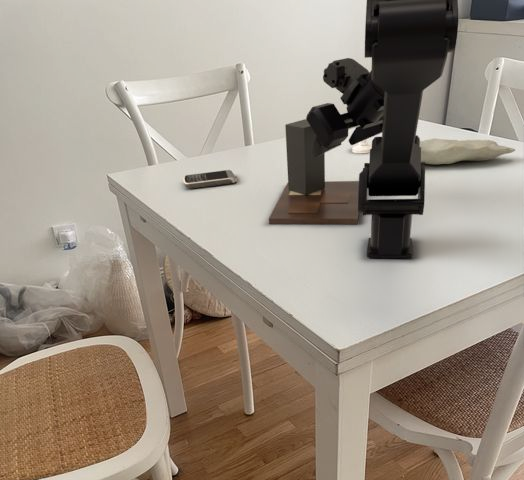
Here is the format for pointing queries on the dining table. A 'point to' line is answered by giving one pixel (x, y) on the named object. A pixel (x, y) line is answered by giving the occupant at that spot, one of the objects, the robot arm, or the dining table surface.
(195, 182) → the cell phone
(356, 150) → the chess piece
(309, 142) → the dark grey rectangular block
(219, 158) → the dining table surface
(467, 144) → the stone tool replica
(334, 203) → the game board
